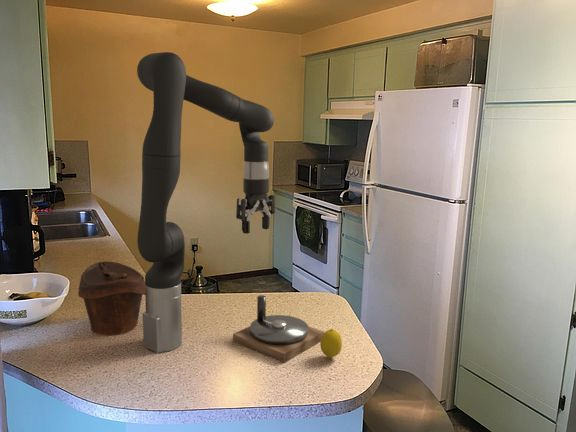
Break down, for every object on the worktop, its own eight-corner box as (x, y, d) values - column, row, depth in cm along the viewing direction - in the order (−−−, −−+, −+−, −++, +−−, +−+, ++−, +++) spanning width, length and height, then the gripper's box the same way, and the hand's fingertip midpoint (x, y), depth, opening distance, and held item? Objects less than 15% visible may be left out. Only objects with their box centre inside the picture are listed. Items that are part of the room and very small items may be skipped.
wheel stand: (284, 363, 122) (284, 353, 122) (232, 342, 133) (232, 333, 133) (323, 339, 136) (324, 331, 136) (274, 322, 147) (274, 314, 147)
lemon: (327, 351, 129) (329, 322, 128) (345, 357, 126) (346, 328, 124) (315, 358, 125) (316, 329, 124) (333, 365, 122) (334, 335, 120)
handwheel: (319, 330, 136) (320, 301, 134) (284, 350, 123) (285, 318, 121) (274, 315, 145) (275, 288, 144) (238, 332, 132) (238, 303, 131)
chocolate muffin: (131, 343, 130) (129, 279, 127) (65, 335, 134) (61, 273, 131) (161, 319, 148) (159, 262, 145) (101, 313, 152) (99, 257, 149)
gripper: (248, 179, 134) (248, 236, 137) (281, 176, 145) (280, 229, 148) (229, 177, 138) (230, 233, 141) (262, 174, 149) (262, 225, 152)
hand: (256, 231), depth 144 cm, fingers open, 8 cm apart
